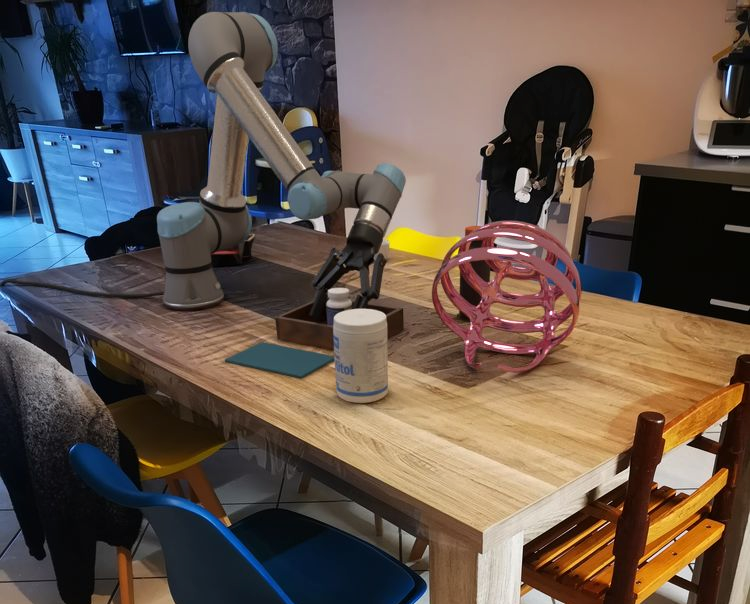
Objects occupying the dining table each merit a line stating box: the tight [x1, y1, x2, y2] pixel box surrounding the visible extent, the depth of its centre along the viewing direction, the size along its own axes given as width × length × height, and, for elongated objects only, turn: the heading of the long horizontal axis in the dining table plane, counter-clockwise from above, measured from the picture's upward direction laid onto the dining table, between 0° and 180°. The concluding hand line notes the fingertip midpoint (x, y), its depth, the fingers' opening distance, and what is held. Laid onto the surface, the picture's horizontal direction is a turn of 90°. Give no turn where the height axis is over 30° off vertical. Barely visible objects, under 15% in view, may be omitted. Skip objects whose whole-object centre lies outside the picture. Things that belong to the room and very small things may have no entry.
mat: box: [224, 341, 335, 379], centre depth 154 cm, size 20×12×1 cm, turn 57°
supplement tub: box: [333, 309, 389, 404], centre depth 134 cm, size 10×10×15 cm
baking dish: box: [210, 233, 256, 267], centre depth 228 cm, size 14×18×10 cm
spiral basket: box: [431, 220, 583, 374], centre depth 142 cm, size 28×28×27 cm
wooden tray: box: [274, 297, 405, 351], centre depth 166 cm, size 22×18×5 cm
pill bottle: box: [326, 287, 353, 326], centre depth 164 cm, size 6×6×10 cm
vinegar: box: [458, 225, 491, 322], centre depth 169 cm, size 7×7×20 cm
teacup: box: [372, 239, 390, 264], centre depth 223 cm, size 10×8×5 cm
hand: (331, 321), depth 163 cm, fingers open, 9 cm apart
